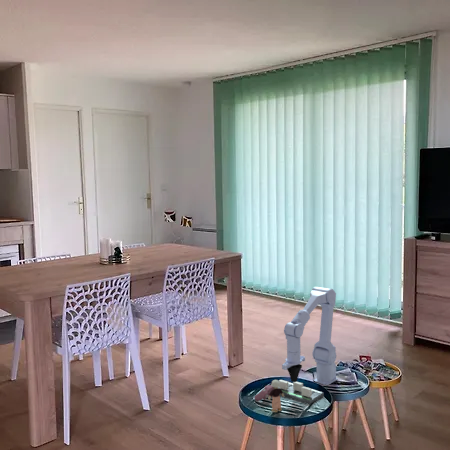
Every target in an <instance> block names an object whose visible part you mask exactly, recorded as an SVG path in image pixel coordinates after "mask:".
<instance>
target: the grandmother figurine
mask: <svg viewBox="0 0 450 450" xmlns="http://www.w3.org/2000/svg"><path fill="white" fill-rule="evenodd" d="M271 384H272V386H273V388H274V389H273V390H272V391H271V392H270V394H269V398H268V397H267V399H268V401H271V400H272V401H271V408H272V409H271V412H273V413H278V412H280V411H282V410H283V408H282V402H281V401H282V400H281V397H283V398H284V397H285V396H284V394H283V391H282V390H281V389H280V388H278V387H279V385H280V383H279V380H278V379H274V380H272V381H271ZM280 394H281V395H280Z"/></svg>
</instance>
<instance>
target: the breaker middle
mask: <svg viewBox="0 0 450 450" xmlns="http://www.w3.org/2000/svg"><path fill="white" fill-rule="evenodd" d="M292 383H293V389H294V390H297V391H300V392H302V387H304V383H303V382H299V381H297V382H292Z"/></svg>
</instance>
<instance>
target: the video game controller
mask: <svg viewBox="0 0 450 450" xmlns="http://www.w3.org/2000/svg"><path fill="white" fill-rule="evenodd" d="M273 389H274V388H273V386H272V383H271V384H268V385H265V386H264V387H263V389H262V390H261V391H260V392H258V394H256V395H255V396H254V400H255V401H257V402H260V401H261V400H263V401H266V400H267V399H268V398H269V394H270V392H271V391H272V390H273Z"/></svg>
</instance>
